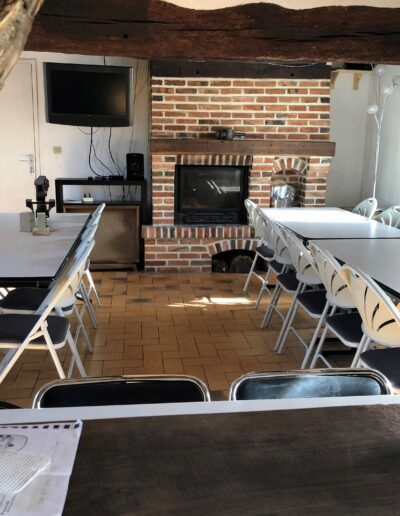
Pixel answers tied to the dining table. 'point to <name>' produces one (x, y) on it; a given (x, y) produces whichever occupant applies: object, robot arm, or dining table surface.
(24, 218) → the supplement box
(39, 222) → the sage block
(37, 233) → the birch plinth
